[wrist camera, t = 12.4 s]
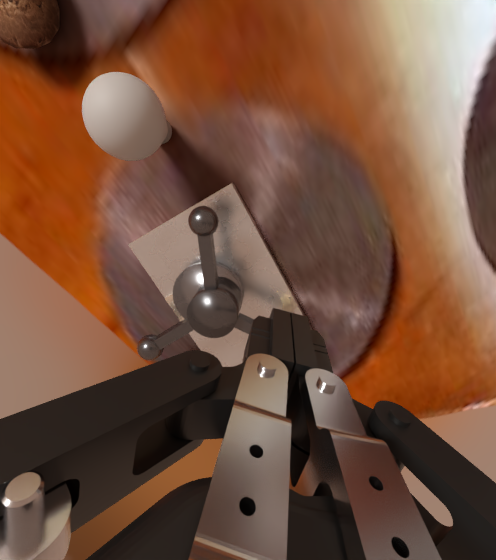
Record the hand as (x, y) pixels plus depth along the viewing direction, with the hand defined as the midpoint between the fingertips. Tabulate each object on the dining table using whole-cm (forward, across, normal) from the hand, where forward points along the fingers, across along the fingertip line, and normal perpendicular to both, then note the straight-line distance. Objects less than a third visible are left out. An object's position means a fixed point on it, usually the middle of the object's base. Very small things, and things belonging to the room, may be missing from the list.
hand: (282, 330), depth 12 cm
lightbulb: (+22, +15, -7) cm, 27 cm away
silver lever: (+20, +5, +6) cm, 21 cm away
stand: (+22, +4, +8) cm, 24 cm away
